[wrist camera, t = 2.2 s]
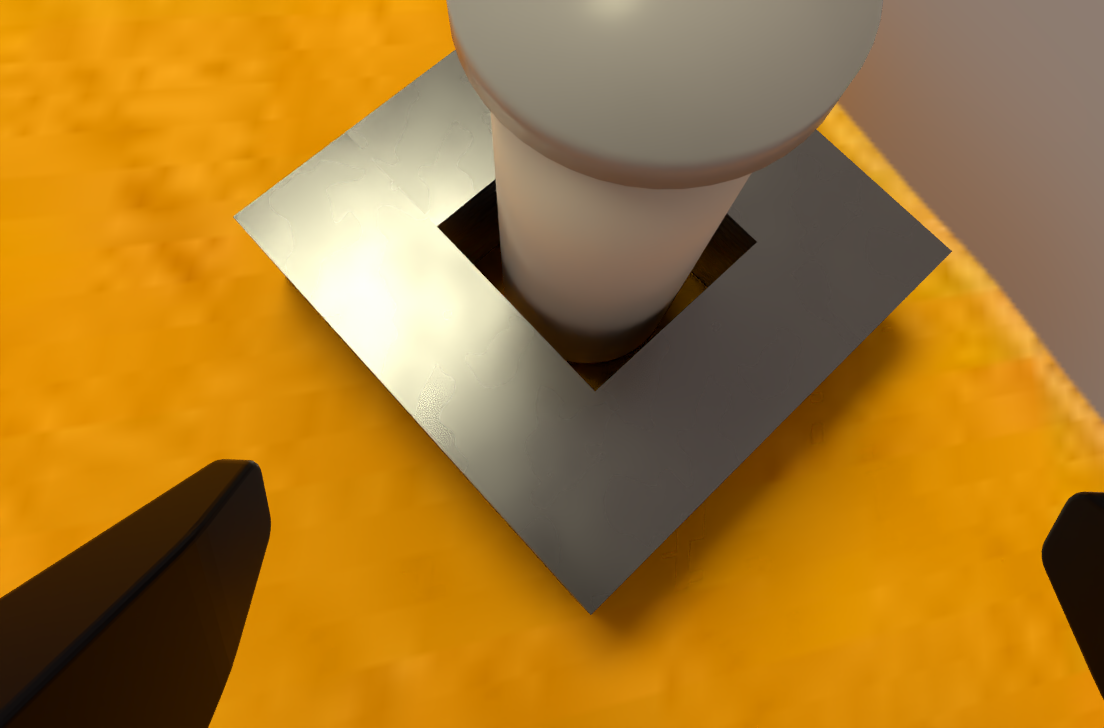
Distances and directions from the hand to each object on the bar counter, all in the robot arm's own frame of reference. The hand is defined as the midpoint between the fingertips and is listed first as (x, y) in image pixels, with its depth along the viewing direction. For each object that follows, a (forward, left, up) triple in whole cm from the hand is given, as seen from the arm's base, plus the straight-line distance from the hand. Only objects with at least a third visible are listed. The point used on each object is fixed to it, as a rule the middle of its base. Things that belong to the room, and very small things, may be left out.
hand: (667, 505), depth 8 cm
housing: (+5, -5, -13) cm, 15 cm away
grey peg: (+5, -5, -13) cm, 15 cm away
